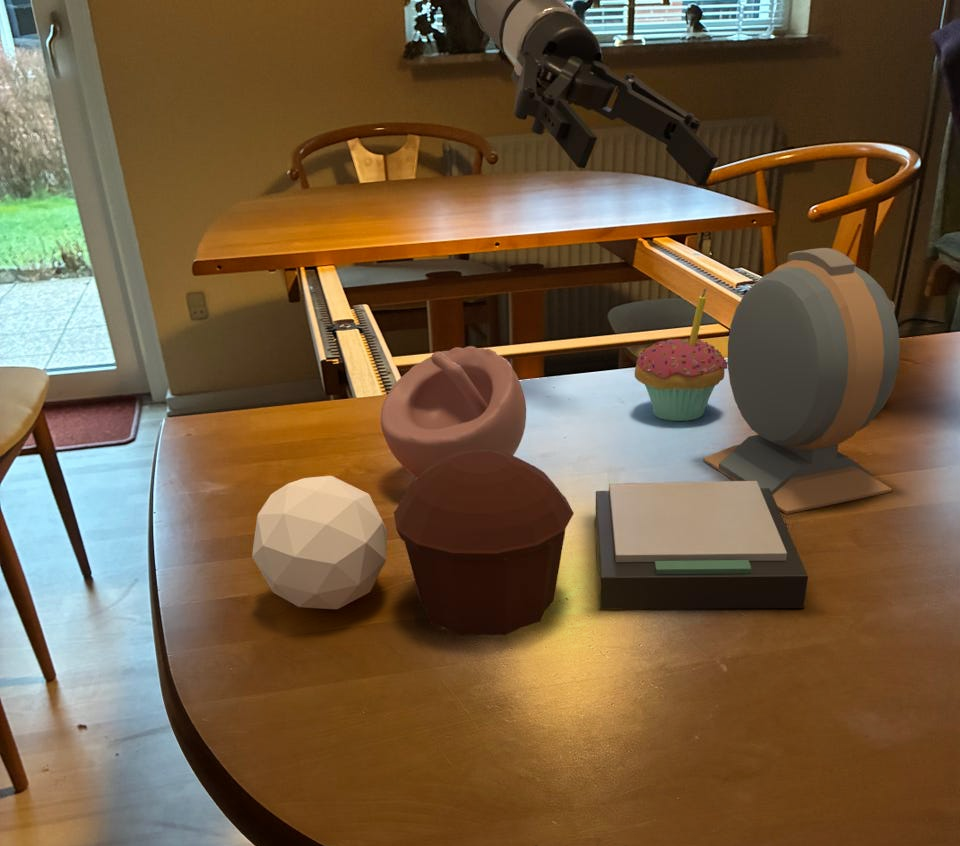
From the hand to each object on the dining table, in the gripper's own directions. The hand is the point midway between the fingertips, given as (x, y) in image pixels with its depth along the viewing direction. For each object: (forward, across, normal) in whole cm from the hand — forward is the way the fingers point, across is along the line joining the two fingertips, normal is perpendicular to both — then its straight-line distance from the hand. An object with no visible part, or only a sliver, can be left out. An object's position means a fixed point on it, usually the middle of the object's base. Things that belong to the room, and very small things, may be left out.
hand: (650, 163), depth 88 cm
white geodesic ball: (+31, +35, -19) cm, 51 cm away
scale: (+38, +13, -10) cm, 41 cm away
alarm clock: (+30, -4, -10) cm, 32 cm away
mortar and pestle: (+18, +20, -21) cm, 34 cm away
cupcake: (+13, -5, -18) cm, 23 cm away
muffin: (+37, +27, -14) cm, 48 cm away
